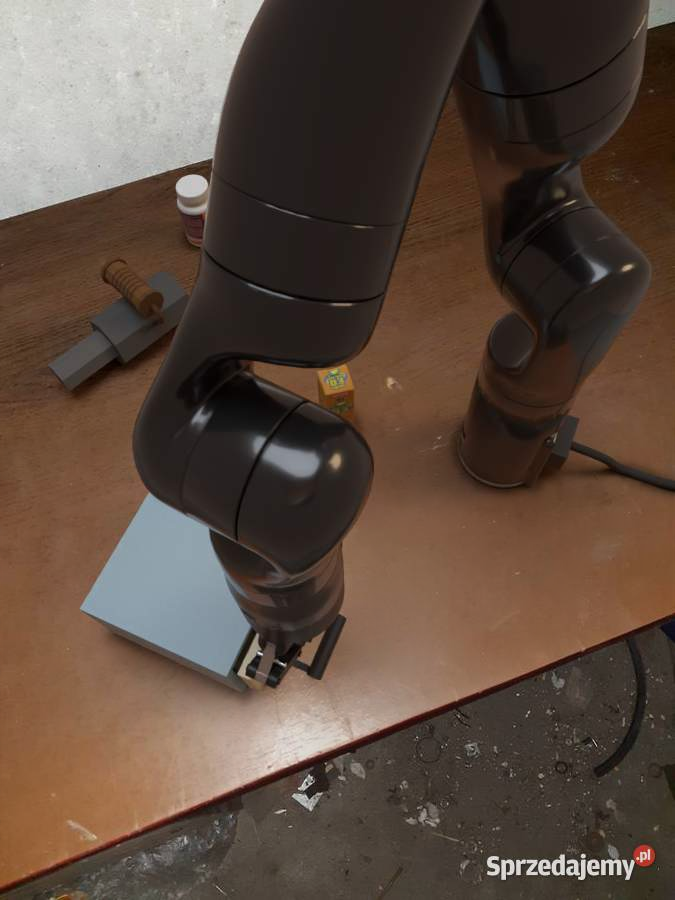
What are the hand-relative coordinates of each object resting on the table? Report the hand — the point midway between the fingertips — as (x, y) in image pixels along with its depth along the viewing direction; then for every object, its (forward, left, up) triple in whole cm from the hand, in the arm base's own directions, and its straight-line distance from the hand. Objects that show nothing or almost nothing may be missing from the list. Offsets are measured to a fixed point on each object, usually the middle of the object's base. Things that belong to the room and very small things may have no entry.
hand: (303, 630), depth 61 cm
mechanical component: (+35, -24, -8) cm, 44 cm away
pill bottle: (+35, -44, -8) cm, 57 cm away
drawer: (+7, 0, -7) cm, 10 cm away
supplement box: (+7, -24, -8) cm, 26 cm away
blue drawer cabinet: (+11, 0, -8) cm, 14 cm away
